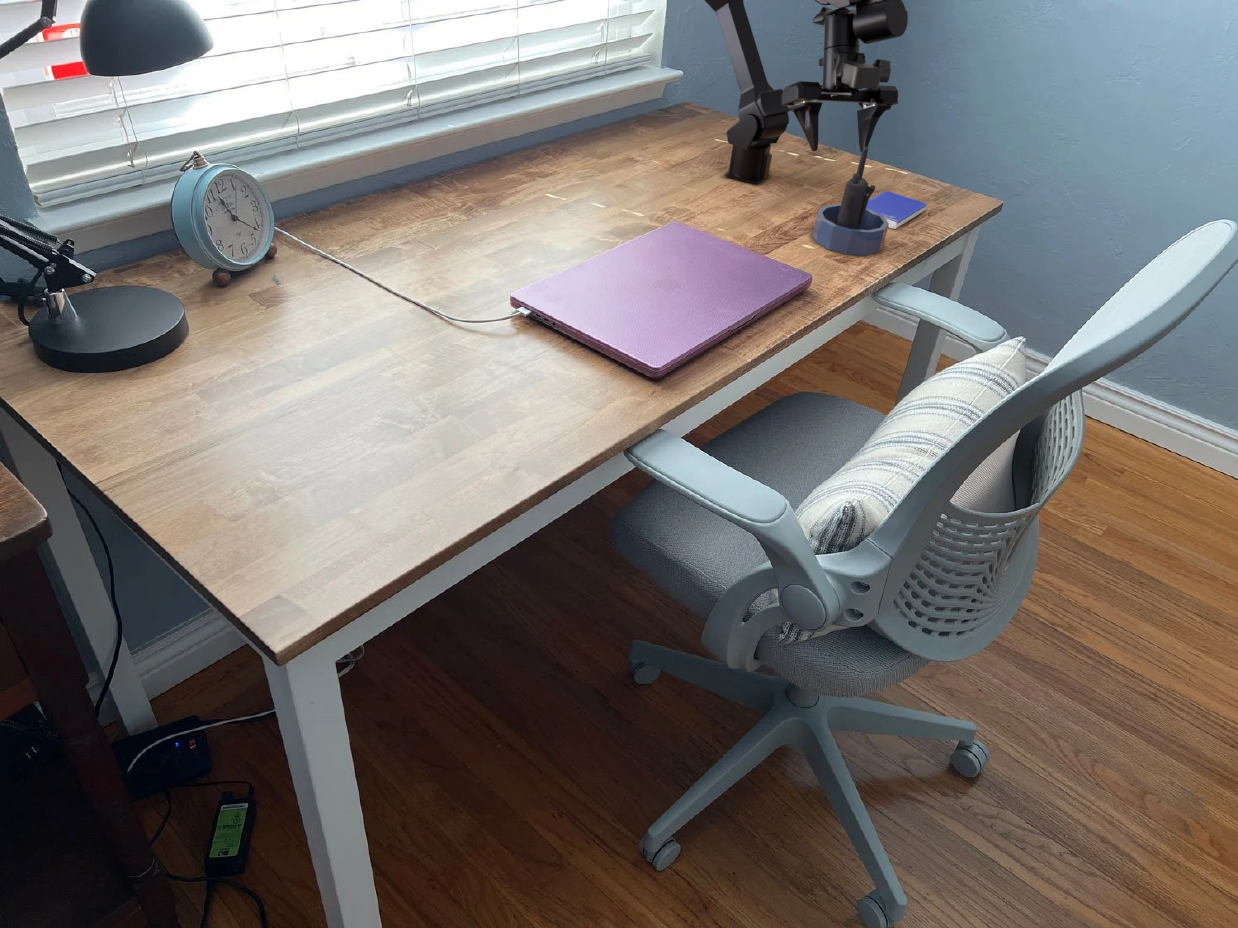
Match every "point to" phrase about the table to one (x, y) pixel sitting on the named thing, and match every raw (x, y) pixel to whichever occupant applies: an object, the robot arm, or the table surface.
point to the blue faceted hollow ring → (850, 232)
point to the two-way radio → (855, 197)
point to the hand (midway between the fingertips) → (839, 151)
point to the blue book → (895, 208)
